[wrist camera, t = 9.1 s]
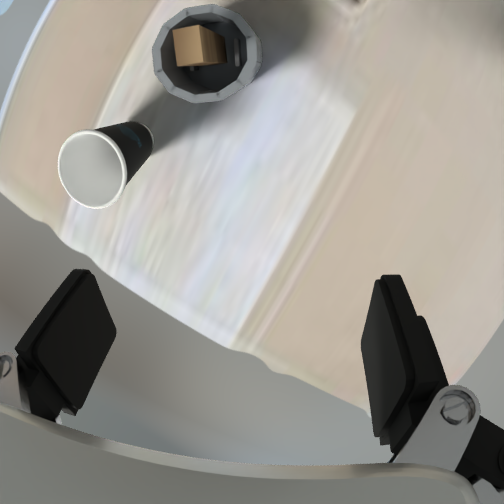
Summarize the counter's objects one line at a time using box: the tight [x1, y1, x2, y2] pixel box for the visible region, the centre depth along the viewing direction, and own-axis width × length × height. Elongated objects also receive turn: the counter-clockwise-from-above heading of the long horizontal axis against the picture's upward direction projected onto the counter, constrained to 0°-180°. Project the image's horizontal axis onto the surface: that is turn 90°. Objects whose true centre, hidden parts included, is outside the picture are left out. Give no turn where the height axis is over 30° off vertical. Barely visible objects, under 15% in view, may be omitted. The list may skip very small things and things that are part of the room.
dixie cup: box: [58, 122, 154, 209], centre depth 31 cm, size 8×8×11 cm
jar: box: [152, 4, 262, 103], centre depth 27 cm, size 9×9×7 cm
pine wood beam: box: [173, 25, 228, 66], centre depth 24 cm, size 2×3×11 cm, turn 5°
